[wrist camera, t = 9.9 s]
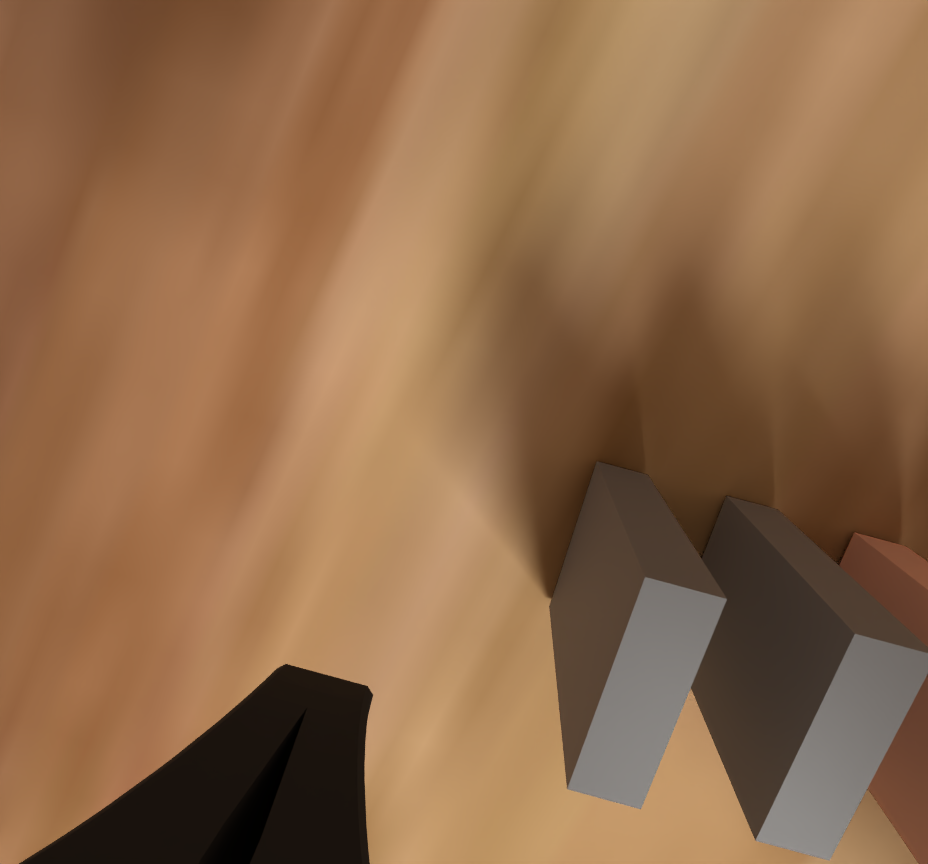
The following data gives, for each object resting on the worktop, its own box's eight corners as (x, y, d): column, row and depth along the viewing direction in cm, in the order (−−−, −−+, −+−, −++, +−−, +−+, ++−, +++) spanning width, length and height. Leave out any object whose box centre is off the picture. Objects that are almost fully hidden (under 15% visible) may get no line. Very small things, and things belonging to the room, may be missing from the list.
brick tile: (905, 545, 18) (1142, 714, 11) (837, 686, 19) (1013, 914, 12) (854, 532, 18) (1059, 691, 11) (790, 673, 19) (939, 893, 12)
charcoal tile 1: (647, 474, 18) (726, 599, 11) (597, 619, 19) (640, 809, 12) (596, 461, 18) (645, 576, 11) (549, 606, 19) (567, 789, 12)
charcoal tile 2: (777, 509, 18) (937, 655, 11) (718, 652, 19) (829, 860, 12) (726, 495, 18) (855, 633, 11) (670, 638, 19) (755, 840, 12)
